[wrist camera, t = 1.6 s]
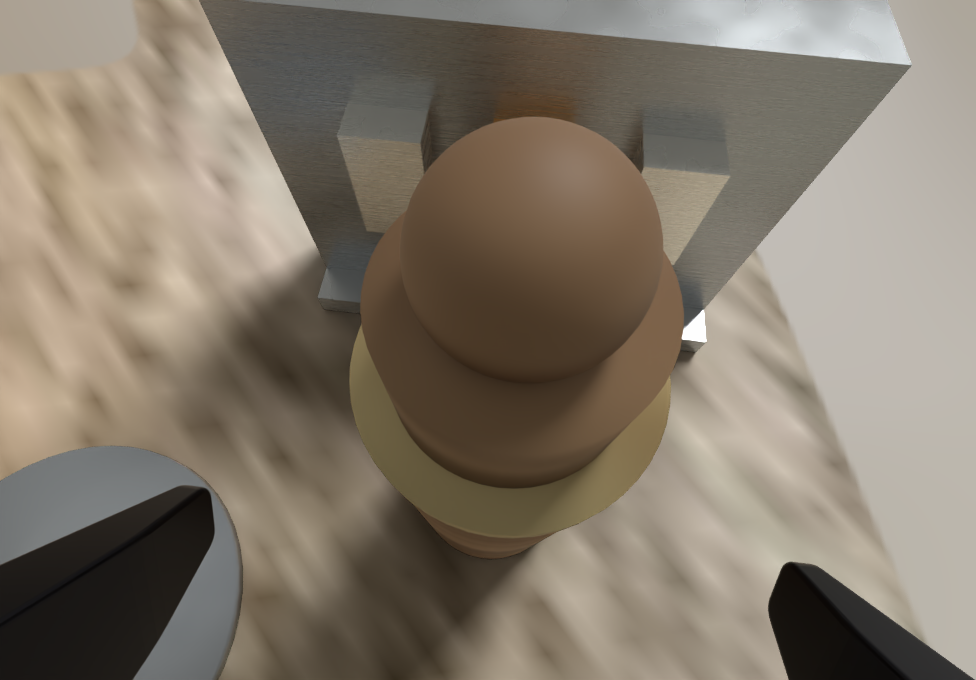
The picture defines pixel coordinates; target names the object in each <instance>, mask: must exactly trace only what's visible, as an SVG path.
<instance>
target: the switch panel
mask: <svg viewBox="0 0 976 680" xmlns="http://www.w3.org/2000/svg"><path fill="white" fill-rule="evenodd" d="M199 1H200V3H201V5H202V8H203V10H204V12H205V14H206V16H207V18H208V20H209V22H210V24H211V26H212V28H213V31H214V33H215V35H216V37H217V39H218V41H219V43H220V45H221V47H222V49H223V51H224V54H225V56H226V58H227V60H228V62H229V64H230V66H231V68H232V70H233V72H234V75H235V77H236V79H237V81H238V83H239V85H240V87H241V89H242V91H243V93H244V95H245V98H246V100H247V102H248V104H249V106H250V108H251V110H252V112H253V114H254V116H255V118H256V121H257V123H258V125H259V127H260V129H261V131H262V133H263V135H264V137H265V139H266V141H267V144H268V146H269V148H270V150H271V152H272V154H273V156H274V158H275V160H276V162H277V164H278V167H279V169H280V171H281V173H282V175H283V177H284V179H285V181H286V183H287V185H288V187H289V190H290V192H291V194H292V196H293V198H294V200H295V202H296V204H297V206H298V208H299V211H300V213H301V215H302V217H303V219H304V221H305V223H306V225H307V227H308V229H309V231H310V234H311V236H312V238H313V240H314V242H315V244H316V246H317V248H318V250H319V252H320V254H321V257H322V259H323V261H324V263H325V265H326V267H327V268H326V271H325V275H324V278H323V281H322V284H321V288H320V291H319V294H318V299H319V301H320V303H321V305H322V307H323V308H324V309H325V310H334V311H343V312H351V313H360V304H361V290H362V285H363V280H364V275H365V272H366V269H367V266H368V263H369V261H370V258H371V256H372V254H373V252H374V250H375V248H376V246H377V244H378V242H379V241H380V240H381V238H382V237H383V235H384V234H385V233H386V231H387V230H388V228H389V227H390V226H391V225H392V224H393V223H394V222H395V221H396V220H397V219H398V217H399V216H400V215H401V214H403V213H404V212H405V211H406V210H407V208H408V205H409V202H410V199H411V196H412V195H413V193H414V191H415V189H416V187H417V185H418V183H419V182H420V180H421V178H422V177H423V175H424V174H425V173H426V171H427V170H428V168H429V167H430V166H431V165H432V164H433V163H434V162H435V160H436V159H437V158H438V157H439V156H440V155H441V154H442V153H443V152H444V151H445V150H446V149H448V148H449V147H450V146H451V145H453V144H454V143H455V142H456V141H458V140H460V139H461V138H463V137H464V136H466V135H468V134H470V133H471V132H473V131H475V130H477V129H479V128H481V127H483V126H486V125H489V124H492V123H495V122H498V121H502V120H507V119H513V118H521V117H548V118H555V119H560V120H564V121H568V122H572V123H574V124H577V125H580V126H583V127H585V128H587V129H589V130H591V131H594V132H596V133H597V134H599V135H601V136H602V137H604V138H606V139H607V140H608V141H610V142H611V143H612V144H614V145H615V146H616V147H617V148H618V149H620V150H621V151H622V152H623V153H624V154H625V155H626V156H627V157H628V158H629V159H630V161H631V162H632V163H633V164H634V165H635V167H636V168H637V169H638V170H639V172H640V173H641V175H642V176H643V178H644V180H645V181H646V183H647V185H648V187H649V189H650V191H651V193H652V195H653V198H654V200H655V202H656V206H657V209H658V213H659V217H660V221H661V225H662V233H663V250H664V252H665V253H666V255H667V257H668V258H669V260H670V262H671V265H672V267H673V269H674V272H675V274H676V276H677V280H678V283H679V287H680V290H681V294H682V302H683V309H684V330H683V337H682V342H681V348H680V350H683V351H692V352H697V351H698V350H699V349H700V348H701V347H702V346H703V345H704V344H705V343H706V334H705V322H704V309H705V307H706V306H707V305H708V304H709V303H710V302H711V300H712V299H713V298H714V297H715V296H716V294H717V293H718V292H719V291H720V290H721V289H722V287H723V286H724V285H725V284H726V283H727V282H728V280H729V279H730V278H731V277H732V276H733V275H734V273H735V272H736V271H737V270H738V269H739V267H740V266H741V265H742V264H743V263H744V262H745V260H746V259H747V258H748V257H749V256H750V255H751V253H752V252H753V251H754V250H755V249H756V248H757V246H758V245H759V244H760V243H761V241H763V239H764V238H765V237H766V236H767V235H768V233H769V232H770V231H771V230H772V229H773V227H774V226H775V225H776V224H777V223H778V222H779V220H780V219H781V218H782V217H783V216H784V215H785V214H786V212H787V211H788V210H789V209H790V207H791V206H792V205H793V204H794V203H795V202H796V201H797V199H798V198H799V197H800V196H801V195H802V194H803V192H804V191H805V190H806V189H807V188H808V187H809V185H810V184H811V183H812V182H813V181H814V179H815V178H816V177H817V176H818V174H820V172H821V171H822V170H823V169H824V168H825V167H826V165H827V164H828V163H829V162H830V161H831V160H832V158H833V157H834V156H835V155H836V154H837V153H838V151H839V150H840V149H841V148H842V147H843V145H844V144H845V143H846V142H847V141H848V140H849V138H850V137H851V136H852V135H853V134H854V133H855V131H856V130H857V129H858V128H859V127H860V125H861V124H862V123H863V122H864V121H865V120H866V118H867V117H868V116H869V115H870V114H871V113H872V111H873V110H874V109H875V108H876V107H877V105H878V104H879V103H880V102H881V101H882V100H883V99H884V97H885V96H886V95H887V94H888V93H889V92H890V90H891V89H892V88H893V87H894V86H895V84H896V83H897V82H898V81H899V80H900V79H901V77H902V76H903V75H904V74H905V73H906V72H907V70H908V69H909V68H910V67H911V65H912V64H911V62H910V59H909V57H908V54H907V51H906V49H905V46H904V43H903V41H902V38H901V35H900V33H899V30H898V28H897V25H896V22H895V20H894V17H893V14H892V12H891V9H890V7H889V4H888V2H887V0H199Z"/></svg>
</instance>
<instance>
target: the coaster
mask: <svg viewBox="0 0 976 680" xmlns="http://www.w3.org/2000/svg"><path fill="white" fill-rule="evenodd" d="M180 485H190V486H198V487H204V488H206V489H208V490H209V491H210V493H211V498H212V506H213V515H214V524H215V535H214V539H213V542H212V544H211V546H210V548H209V550H208V552H207V554H206V556H205V557H204V559H203V561H202V563H201V565H200V567H199V568H198V570H197V572H196V574H195V576H194V578H193V579H192V581H191V583H190V585H189V587H188V589H187V590H186V592H185V594H184V596H183V598H182V600H181V601H180V603H179V605H178V607H177V609H176V611H175V612H174V614H173V616H172V618H171V620H170V622H169V623H168V625H167V627H166V629H165V630H164V632H163V634H162V636H161V637H160V639H159V641H158V642H157V644H156V645H155V647H154V648H153V650H152V652H151V653H150V655H149V656H148V658H147V659H146V661H145V662H144V664H143V665H142V667H141V668H140V670H139V671H138V673H137V674H136V676H135V677H134V679H133V680H218V678H219V676H220V674H221V672H222V670H223V668H224V666H225V663H226V660H227V657H228V655H229V652H230V649H231V646H232V643H233V640H234V637H235V632H236V628H237V624H238V620H239V616H240V609H241V601H242V592H243V565H242V557H241V549H240V544H239V540H238V537H237V533H236V529H235V526H234V524H233V521H232V519H231V517H230V514H229V512H228V510H227V508H226V507H225V505H224V503H223V502H222V500H221V499H220V497H219V496H218V494H217V493H216V492H215V491H214V489H213V488H212V487H211V486H210V485H209V484H208V483H207V482H206V481H205V480H204V479H203V478H202V477H201V476H199V475H198V474H197V473H196V472H194V471H193V470H192V469H190V468H188V467H187V466H185V465H183V464H181V463H179V462H178V461H176V460H173V459H171V458H168V457H165V456H163V455H160V454H157V453H154V452H152V451H148V450H143V449H139V448H134V447H123V446H100V447H89V448H84V449H78V450H73V451H68V452H65V453H62V454H58V455H55V456H52V457H48V458H46V459H44V460H41V461H39V462H36V463H34V464H31V465H29V466H27V467H25V468H23V469H21V470H19V471H17V472H15V473H13V474H11V475H10V476H8V477H6V478H4V479H3V480H1V481H0V565H1V564H3V563H5V562H7V561H10V560H12V559H14V558H17V557H19V556H21V555H23V554H26V553H28V552H30V551H32V550H35V549H37V548H39V547H41V546H44V545H46V544H48V543H50V542H53V541H55V540H57V539H59V538H62V537H64V536H66V535H69V534H71V533H73V532H75V531H78V530H80V529H82V528H84V527H87V526H89V525H91V524H93V523H96V522H98V521H100V520H102V519H105V518H107V517H109V516H111V515H114V514H116V513H118V512H121V511H123V510H125V509H127V508H130V507H132V506H134V505H136V504H139V503H141V502H143V501H145V500H148V499H150V498H152V497H154V496H157V495H159V494H161V493H163V492H166V491H168V490H170V489H172V488H175V487H177V486H180Z"/></svg>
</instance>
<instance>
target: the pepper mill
mask: <svg viewBox="0 0 976 680" xmlns="http://www.w3.org/2000/svg"><path fill="white" fill-rule="evenodd" d="M360 314H361V323H362V324H361V326H360V329H359V332H358V335H357V338H356V341H355V343H354V347H353V352H352V358H351V363H350V379H349V387H350V398H351V406H352V410H353V414H354V418H355V422H356V426H357V428H358V431H359V433H360V436H361V438H362V441H363V443H364V445H365V447H366V449H367V450H368V452H369V454H370V456H371V457H372V459H373V461H374V463H375V464H376V465H377V466H378V468H379V469H380V470H381V472H382V473H383V474H384V475H385V477H386V478H387V479H388V480H389V482H390V483H391V484H392V485H393V486H394V487H395V488H396V489H397V490H398V491H399V492H400V493H401V494H402V495H403V496H404V497H405V498H406V499H407V500H408V501H409V502H411V503H412V504H413V505H414V506H415V507H416V508H417V509H418V511H419V512H420V513H421V514H422V515H423V516H424V518H425V519H426V520H427V521H428V522H429V524H430V525H431V526H432V527H433V528H434V530H435V531H436V532H437V533H438V534H439V535H440V537H442V538H443V539H444V540H445V541H446V542H447V543H448V544H449V545H451V546H452V547H454V548H455V549H457V550H459V551H461V552H462V553H465V554H468V555H470V556H473V557H478V558H485V559H498V558H505V557H509V556H512V555H515V554H518V553H520V552H522V551H524V550H526V549H527V548H529V547H531V546H533V545H535V544H536V543H538V542H540V541H542V540H543V539H545V538H547V537H549V536H551V535H552V534H554V533H556V532H558V531H561V530H563V529H566V528H569V527H571V526H574V525H577V524H579V523H581V522H582V521H584V520H586V519H588V518H590V517H592V516H593V515H595V514H597V513H599V512H601V511H602V510H604V509H606V508H607V507H608V506H610V505H611V504H612V503H614V502H615V501H616V500H617V499H619V498H620V497H621V496H623V495H624V494H625V493H626V492H627V491H628V490H629V488H630V487H631V486H632V485H633V484H634V483H635V482H636V481H637V480H638V479H639V478H640V476H641V475H642V473H643V472H644V471H645V469H646V468H647V466H648V465H649V464H650V462H651V460H652V458H653V456H654V454H655V452H656V450H657V449H658V447H659V445H660V442H661V439H662V436H663V433H664V430H665V427H666V424H667V419H668V413H669V408H670V393H671V382H670V374H671V372H672V371H673V369H674V366H675V363H676V360H677V357H678V355H679V352H680V348H681V342H682V337H683V330H684V309H683V302H682V294H681V290H680V287H679V283H678V280H677V276H676V274H675V272H674V269H673V267H672V265H671V262H670V260H669V258H668V257H667V255H666V253H665V252H664V250H663V233H662V225H661V221H660V217H659V213H658V209H657V206H656V202H655V200H654V198H653V195H652V193H651V191H650V189H649V187H648V185H647V183H646V181H645V180H644V178H643V176H642V175H641V173H640V172H639V170H638V169H637V168H636V167H635V165H634V164H633V163H632V162H631V161H630V159H629V158H628V157H627V156H626V155H625V154H624V153H623V152H622V151H621V150H620V149H618V148H617V147H616V146H615V145H614V144H612V143H611V142H610V141H608V140H607V139H606V138H604V137H602V136H601V135H599V134H597V133H596V132H594V131H591V130H589V129H587V128H585V127H583V126H580V125H577V124H574V123H572V122H568V121H564V120H560V119H555V118H548V117H521V118H513V119H507V120H502V121H498V122H495V123H492V124H489V125H486V126H483V127H481V128H479V129H477V130H475V131H473V132H471V133H470V134H468V135H466V136H464V137H463V138H461V139H460V140H458V141H456V142H455V143H454V144H453V145H451V146H450V147H449V148H448V149H446V150H445V151H444V152H443V153H442V154H441V155H440V156H439V157H438V158H437V159H436V160H435V162H434V163H433V164H432V165H431V166H430V167H429V168H428V170H427V171H426V173H425V174H424V175H423V177H422V178H421V180H420V182H419V183H418V185H417V187H416V189H415V191H414V193H413V195H412V196H411V199H410V202H409V205H408V208H407V210H406V211H405V212H404V213H403V214H401V215H400V216H399V217H398V219H397V220H396V221H395V222H394V223H393V224H392V225H391V226H390V227H389V228H388V230H387V231H386V233H385V234H384V235H383V237H382V238H381V240H380V241H379V242H378V244H377V246H376V248H375V250H374V252H373V254H372V256H371V258H370V261H369V263H368V266H367V269H366V272H365V275H364V280H363V285H362V290H361V304H360Z"/></svg>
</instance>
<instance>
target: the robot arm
mask: <svg viewBox="0 0 976 680" xmlns="http://www.w3.org/2000/svg"><path fill="white" fill-rule="evenodd" d="M214 535H215V524H214V515H213V506H212V498H211V493H210V491H209V490H208V489H206V488H204V487H198V486H190V485H180V486H177V487H175V488H172V489H170V490H168V491H166V492H163V493H161V494H159V495H157V496H154V497H152V498H150V499H148V500H145V501H143V502H141V503H139V504H136V505H134V506H132V507H130V508H127V509H125V510H123V511H121V512H118V513H116V514H114V515H111V516H109V517H107V518H105V519H102V520H100V521H98V522H96V523H93V524H91V525H89V526H87V527H84V528H82V529H80V530H78V531H75V532H73V533H71V534H69V535H66V536H64V537H62V538H59V539H57V540H55V541H53V542H50V543H48V544H46V545H44V546H41V547H39V548H37V549H35V550H32V551H30V552H28V553H26V554H23V555H21V556H19V557H17V558H14V559H12V560H10V561H7V562H5V563H3V564H1V565H0V680H133V679H134V677H135V676H136V674H137V673H138V671H139V670H140V668H141V667H142V665H143V664H144V662H145V661H146V659H147V658H148V656H149V655H150V653H151V652H152V650H153V648H154V647H155V645H156V644H157V642H158V641H159V639H160V637H161V636H162V634H163V632H164V630H165V629H166V627H167V625H168V623H169V622H170V620H171V618H172V616H173V614H174V612H175V611H176V609H177V607H178V605H179V603H180V601H181V600H182V598H183V596H184V594H185V592H186V590H187V589H188V587H189V585H190V583H191V581H192V579H193V578H194V576H195V574H196V572H197V570H198V568H199V567H200V565H201V563H202V561H203V559H204V557H205V556H206V554H207V552H208V550H209V548H210V546H211V544H212V542H213V539H214ZM768 613H769V618H770V622H771V625H772V628H773V631H774V634H775V638H776V641H777V644H778V647H779V650H780V654H781V657H782V660H783V663H784V666H785V669H786V673H787V676H788V679H789V680H974V679H973V678H972V677H970V676H969V675H967V674H966V673H965V672H963V671H962V670H961V669H959V668H957V667H956V666H955V665H954V664H952V663H951V662H949V661H948V660H947V659H945V658H944V657H942V656H941V655H940V654H938V653H937V652H936V651H934V650H933V649H932V648H930V647H929V646H927V645H926V644H925V643H923V642H922V641H920V640H919V639H918V638H916V637H915V636H914V635H912V634H911V633H909V632H908V631H907V630H905V629H904V628H902V627H901V626H900V625H898V624H897V623H896V622H894V621H893V620H891V619H890V618H889V617H887V616H886V615H884V614H883V613H882V612H880V611H879V610H878V609H876V608H875V607H873V606H872V605H871V604H869V603H868V602H867V601H865V600H864V599H862V598H861V597H860V596H858V595H857V594H855V593H854V592H853V591H851V590H850V589H849V588H847V587H846V586H844V585H843V584H842V583H840V582H839V581H838V580H836V579H835V578H833V577H832V576H831V575H829V574H828V573H826V572H825V571H824V570H822V569H821V568H819V567H818V566H816V565H812V564H806V563H798V562H787V563H786V564H784V565H783V567H782V569H781V571H780V574H779V576H778V579H777V581H776V584H775V586H774V589H773V591H772V594H771V597H770V599H769V604H768Z"/></svg>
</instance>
